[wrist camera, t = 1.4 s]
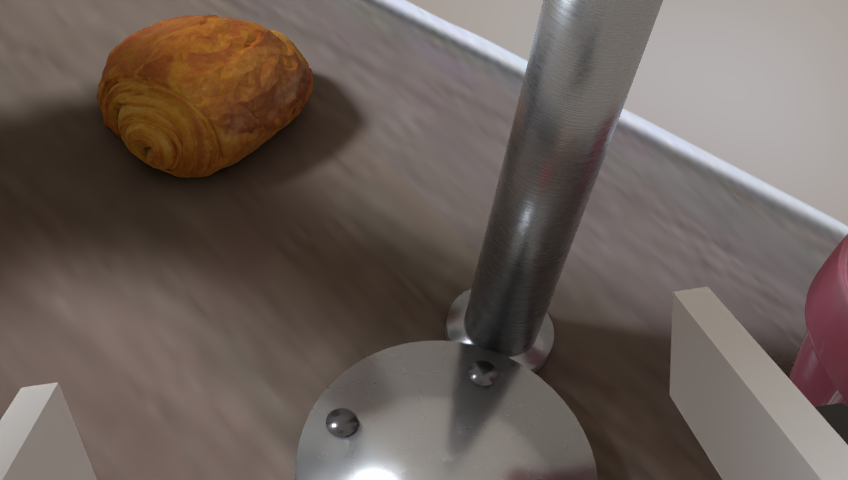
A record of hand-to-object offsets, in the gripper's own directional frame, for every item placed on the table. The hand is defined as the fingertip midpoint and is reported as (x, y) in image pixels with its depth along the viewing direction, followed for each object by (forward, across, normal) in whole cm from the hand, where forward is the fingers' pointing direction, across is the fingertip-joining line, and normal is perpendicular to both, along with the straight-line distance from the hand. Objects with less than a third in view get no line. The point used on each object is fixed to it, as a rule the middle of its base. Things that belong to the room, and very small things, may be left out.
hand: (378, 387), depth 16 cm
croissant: (+44, -12, -5) cm, 46 cm away
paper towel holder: (+19, +3, -18) cm, 26 cm away
